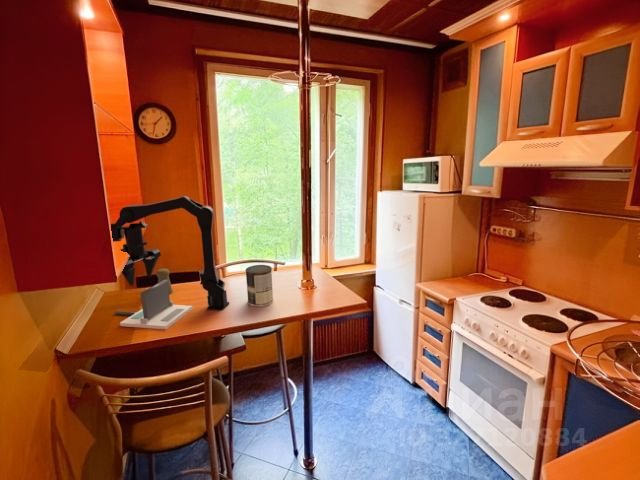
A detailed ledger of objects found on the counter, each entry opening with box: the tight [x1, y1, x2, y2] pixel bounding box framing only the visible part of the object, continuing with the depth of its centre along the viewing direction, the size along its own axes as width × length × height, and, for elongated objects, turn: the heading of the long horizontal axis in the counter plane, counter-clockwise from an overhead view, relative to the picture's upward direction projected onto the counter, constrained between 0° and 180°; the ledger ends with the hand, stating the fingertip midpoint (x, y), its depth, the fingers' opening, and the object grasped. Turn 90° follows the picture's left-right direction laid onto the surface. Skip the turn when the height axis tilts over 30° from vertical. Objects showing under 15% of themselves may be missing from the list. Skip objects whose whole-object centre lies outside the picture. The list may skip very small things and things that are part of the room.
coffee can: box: [245, 264, 274, 308], centre depth 139 cm, size 10×10×14 cm
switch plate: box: [114, 300, 194, 330], centre depth 128 cm, size 27×17×3 cm, turn 80°
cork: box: [156, 268, 174, 296], centre depth 150 cm, size 6×6×11 cm
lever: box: [140, 280, 171, 320], centre depth 127 cm, size 2×14×11 cm, turn 169°
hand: (140, 281), depth 128 cm, fingers open, 9 cm apart
